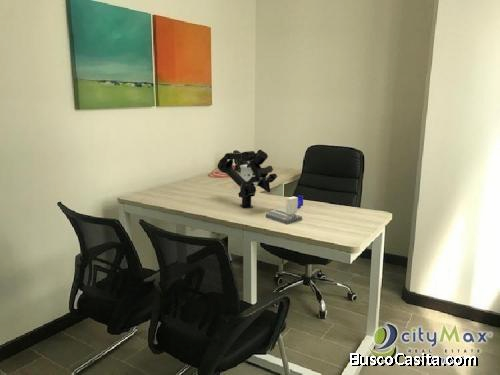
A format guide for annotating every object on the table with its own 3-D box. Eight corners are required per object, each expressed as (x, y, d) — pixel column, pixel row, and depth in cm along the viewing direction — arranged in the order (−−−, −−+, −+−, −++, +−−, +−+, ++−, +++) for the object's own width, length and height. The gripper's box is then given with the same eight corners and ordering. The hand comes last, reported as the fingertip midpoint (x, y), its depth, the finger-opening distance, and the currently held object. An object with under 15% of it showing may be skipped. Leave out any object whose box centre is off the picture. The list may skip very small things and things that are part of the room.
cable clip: (296, 210, 237) (296, 200, 236) (289, 208, 239) (289, 199, 238) (305, 205, 247) (305, 196, 245) (298, 204, 249) (298, 195, 248)
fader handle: (285, 217, 214) (286, 198, 212) (292, 215, 218) (293, 196, 216) (289, 218, 212) (290, 199, 210) (297, 216, 216) (297, 197, 213)
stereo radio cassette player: (266, 184, 303) (266, 158, 299) (258, 186, 298) (259, 159, 293) (246, 180, 318) (247, 155, 313) (239, 181, 312) (239, 156, 307)
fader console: (265, 217, 222) (265, 211, 221) (280, 213, 229) (281, 207, 229) (286, 224, 210) (286, 218, 209) (301, 219, 218) (302, 214, 217)
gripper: (251, 162, 219) (264, 186, 214) (275, 159, 231) (288, 181, 226) (241, 174, 227) (254, 197, 221) (265, 170, 239) (278, 192, 233)
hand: (269, 191), depth 225 cm, fingers closed
